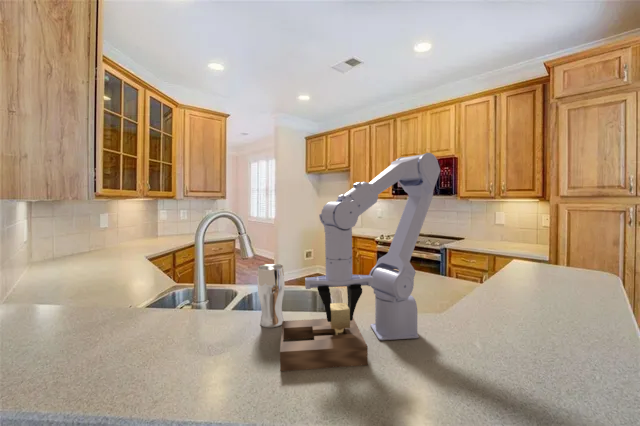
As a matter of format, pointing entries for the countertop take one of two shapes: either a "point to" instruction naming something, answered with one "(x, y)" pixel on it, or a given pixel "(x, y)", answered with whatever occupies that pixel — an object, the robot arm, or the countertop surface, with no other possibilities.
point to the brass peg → (339, 317)
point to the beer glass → (271, 294)
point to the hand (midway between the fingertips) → (339, 319)
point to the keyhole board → (321, 346)
